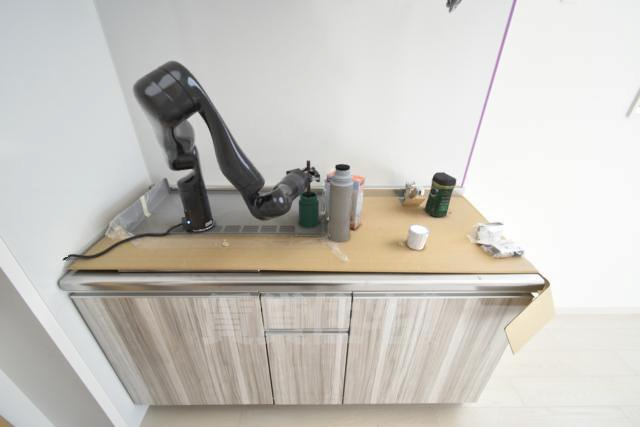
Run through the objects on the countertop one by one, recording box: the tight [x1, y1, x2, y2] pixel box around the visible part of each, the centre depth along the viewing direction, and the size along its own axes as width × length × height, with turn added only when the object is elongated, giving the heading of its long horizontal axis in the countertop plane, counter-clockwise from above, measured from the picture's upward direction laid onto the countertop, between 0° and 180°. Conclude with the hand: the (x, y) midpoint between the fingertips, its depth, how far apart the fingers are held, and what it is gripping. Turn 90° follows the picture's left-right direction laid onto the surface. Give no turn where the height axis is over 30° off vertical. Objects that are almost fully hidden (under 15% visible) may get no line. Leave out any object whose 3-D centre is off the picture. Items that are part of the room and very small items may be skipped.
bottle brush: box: [305, 159, 312, 198], centre depth 93 cm, size 4×4×20 cm
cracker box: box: [325, 170, 366, 230], centre depth 97 cm, size 14×6×21 cm, turn 58°
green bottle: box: [298, 190, 320, 229], centre depth 98 cm, size 8×8×13 cm
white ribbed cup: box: [406, 224, 430, 251], centre depth 87 cm, size 7×7×7 cm
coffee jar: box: [424, 171, 457, 218], centre depth 106 cm, size 10×8×19 cm
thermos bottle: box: [327, 163, 354, 243], centre depth 86 cm, size 8×8×28 cm
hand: (311, 168), depth 93 cm, fingers closed on bottle brush, 1 cm apart
